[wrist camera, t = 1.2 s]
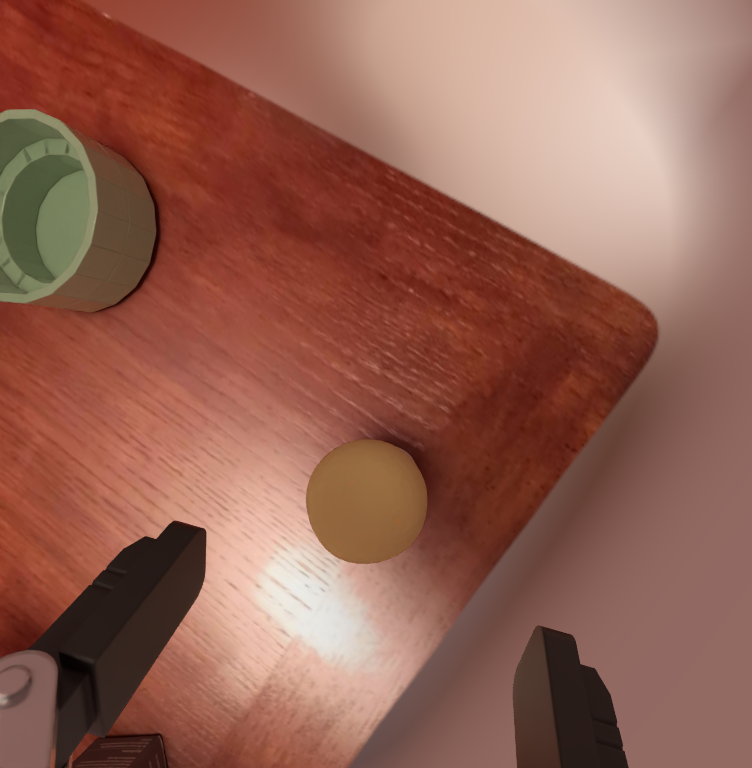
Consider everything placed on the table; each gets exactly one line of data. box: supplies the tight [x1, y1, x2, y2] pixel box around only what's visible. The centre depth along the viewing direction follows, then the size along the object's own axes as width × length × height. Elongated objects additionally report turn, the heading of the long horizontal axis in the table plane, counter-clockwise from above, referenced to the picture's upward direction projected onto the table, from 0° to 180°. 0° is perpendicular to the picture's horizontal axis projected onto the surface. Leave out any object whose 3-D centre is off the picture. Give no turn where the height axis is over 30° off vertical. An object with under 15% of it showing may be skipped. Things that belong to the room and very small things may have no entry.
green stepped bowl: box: [0, 109, 156, 312], centre depth 34 cm, size 12×12×6 cm
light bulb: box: [306, 439, 428, 564], centre depth 28 cm, size 6×6×10 cm
